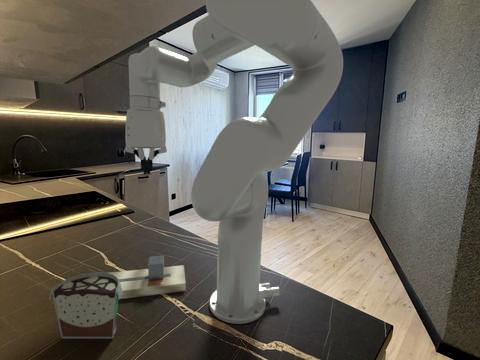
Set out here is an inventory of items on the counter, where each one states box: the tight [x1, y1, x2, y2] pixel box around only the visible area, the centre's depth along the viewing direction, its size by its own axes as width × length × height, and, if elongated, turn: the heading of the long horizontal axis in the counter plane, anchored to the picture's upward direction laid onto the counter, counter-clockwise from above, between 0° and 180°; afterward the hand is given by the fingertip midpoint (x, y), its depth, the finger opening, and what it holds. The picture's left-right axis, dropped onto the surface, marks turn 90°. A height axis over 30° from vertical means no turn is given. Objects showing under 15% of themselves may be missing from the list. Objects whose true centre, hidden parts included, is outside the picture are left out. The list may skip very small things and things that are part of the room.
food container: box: [48, 271, 122, 339], centre depth 49 cm, size 12×6×10 cm, turn 92°
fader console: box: [109, 265, 187, 300], centre depth 63 cm, size 22×9×2 cm, turn 105°
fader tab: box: [147, 255, 165, 280], centre depth 63 cm, size 4×4×4 cm
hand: (147, 173), depth 70 cm, fingers closed
